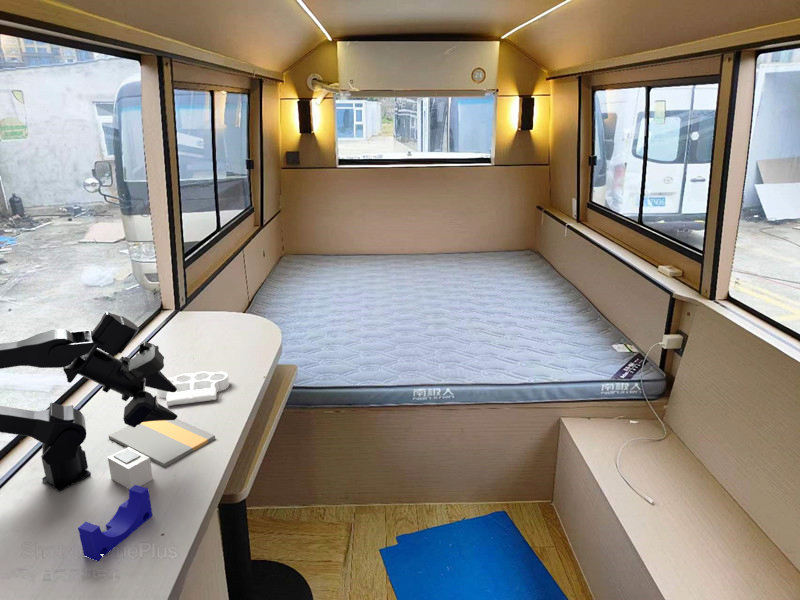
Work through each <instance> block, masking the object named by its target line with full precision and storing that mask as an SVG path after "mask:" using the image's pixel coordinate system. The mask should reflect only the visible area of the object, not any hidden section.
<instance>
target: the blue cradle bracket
mask: <svg viewBox="0 0 800 600" xmlns="http://www.w3.org/2000/svg"><path fill="white" fill-rule="evenodd" d="M149 491H150V490H149V488H147V487H144V486H142V485H141V486H138V485H134V486H133V487H132V488H130V489H128V499H127V500H125V501H124V502H123V503H121V504H120V505H119V506H118V508H117V511H116V512H115V514H114V515H113V517H112V518H111V519H110V520H109V522H107V523H106V524H105V528H106V530H105V531H102V530H101V527H100V525H97V524H94V523H91V522H88V521H85V522H84V523H82V524H81V525H80V526H78V527H77V530H78V534H79V539H80V544H81V547H82V554H83V557H84V556H87V557H89V558H91V559H90V560H92V559H94V560H93V561H95V560H97V561H98V562H99V561H101V560H102V559H103V558H102V556H101V555H100V554H104V555H105V556H107V555H108V554H109V553H110V552H111V551H113V550H114V549H115V548H116V547H118V546H119V545H120V544H121V543H122V542H123V541H124V540H125V539H127V538H128V537H129V536H131V534H133V533H134V532H135V531H137V530H138V529H139V528H140V527H141V526H142V525H144V524H145V523H146V522H147V521H148V520H150V519H151V518H152V517H153V509H152V505H151V498H150V492H149ZM114 547H115V548H114ZM113 548H114V549H113ZM112 549H113V550H112ZM110 550H111V551H110ZM109 551H110V552H109ZM108 552H109V553H108ZM107 553H108V554H107ZM106 554H107V555H106ZM104 555H103V556H104ZM105 556H104V557H105ZM89 558H88V559H89ZM101 558H102V559H101ZM100 559H101V560H100ZM97 561H96V562H97Z"/></svg>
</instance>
